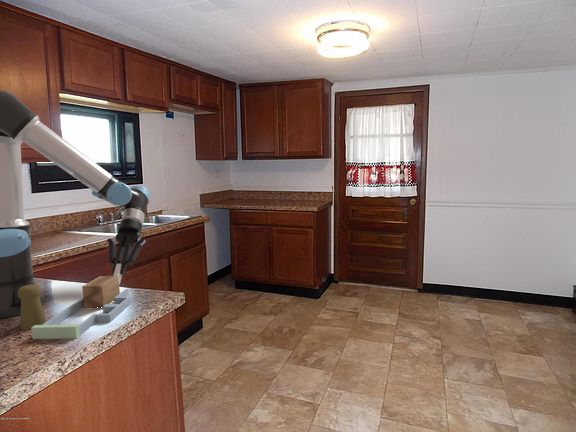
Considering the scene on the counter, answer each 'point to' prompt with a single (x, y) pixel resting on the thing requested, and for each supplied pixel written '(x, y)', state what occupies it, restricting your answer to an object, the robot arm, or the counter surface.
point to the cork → (31, 307)
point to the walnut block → (100, 291)
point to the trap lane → (75, 330)
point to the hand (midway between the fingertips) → (115, 283)
